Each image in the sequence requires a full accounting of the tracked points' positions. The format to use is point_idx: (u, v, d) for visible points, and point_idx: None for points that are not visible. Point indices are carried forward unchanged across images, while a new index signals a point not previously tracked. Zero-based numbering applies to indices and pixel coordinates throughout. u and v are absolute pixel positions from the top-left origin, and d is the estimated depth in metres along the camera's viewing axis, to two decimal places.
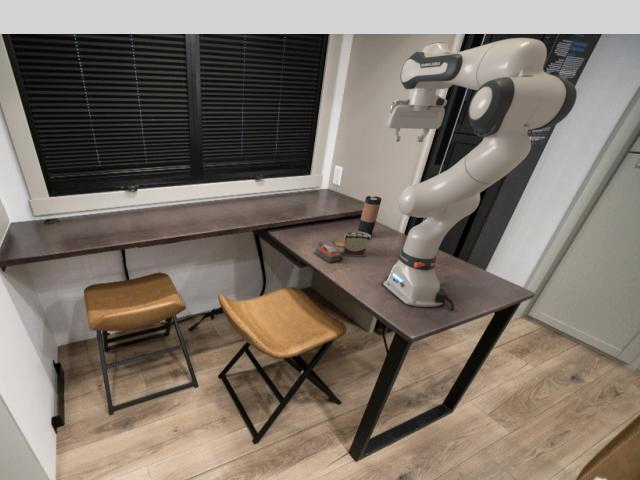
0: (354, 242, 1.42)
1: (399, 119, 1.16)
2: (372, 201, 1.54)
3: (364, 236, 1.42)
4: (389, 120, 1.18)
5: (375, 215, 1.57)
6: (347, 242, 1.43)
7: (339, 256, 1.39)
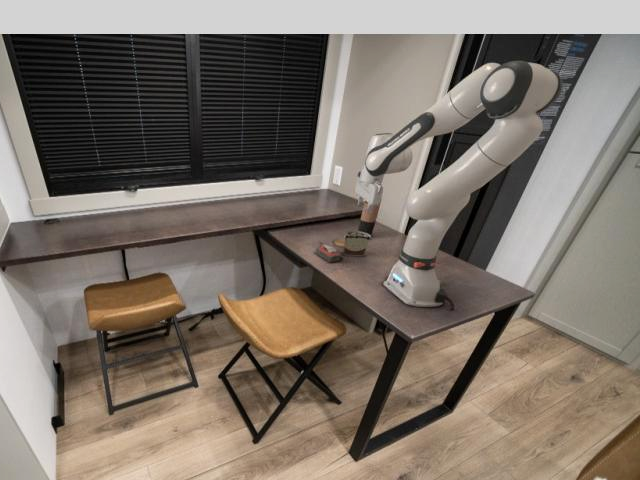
0: (354, 242, 1.42)
1: None
2: None
3: (364, 236, 1.42)
4: (378, 199, 1.24)
5: (375, 215, 1.57)
6: (347, 242, 1.43)
7: (339, 256, 1.39)
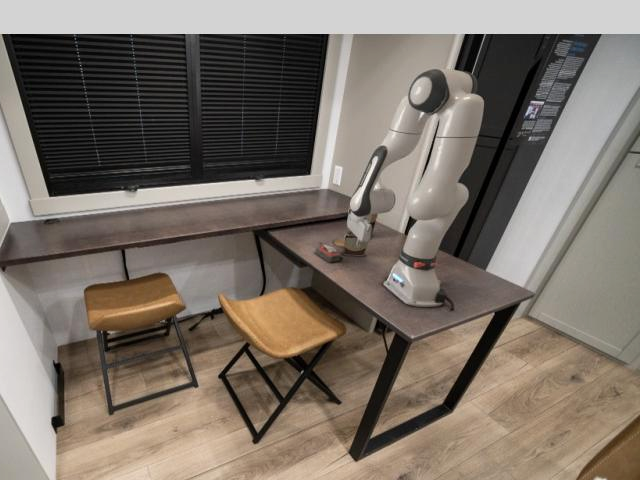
0: (354, 242, 1.42)
1: None
2: None
3: None
4: (367, 237, 1.33)
5: (375, 215, 1.57)
6: (347, 242, 1.43)
7: (339, 256, 1.39)
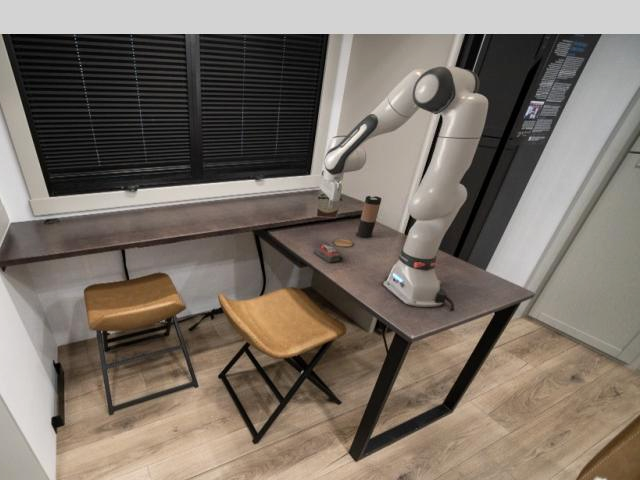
0: (326, 203, 1.46)
1: None
2: (372, 201, 1.54)
3: None
4: (338, 196, 1.36)
5: (375, 215, 1.57)
6: (319, 203, 1.46)
7: (339, 256, 1.39)
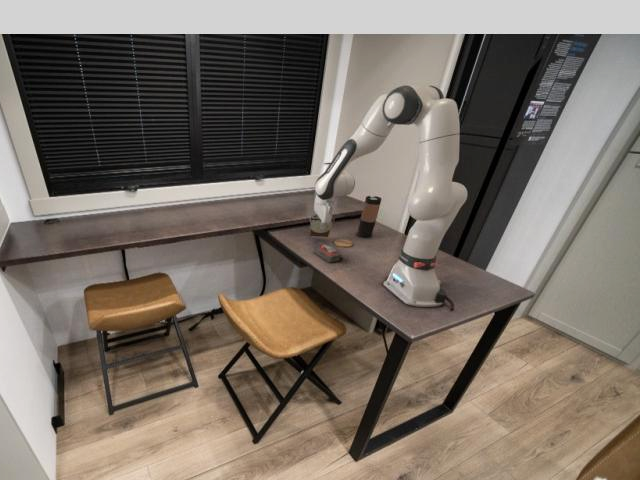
0: (319, 224, 1.53)
1: None
2: (372, 201, 1.54)
3: None
4: (329, 219, 1.44)
5: (375, 215, 1.57)
6: (312, 224, 1.53)
7: (339, 256, 1.39)
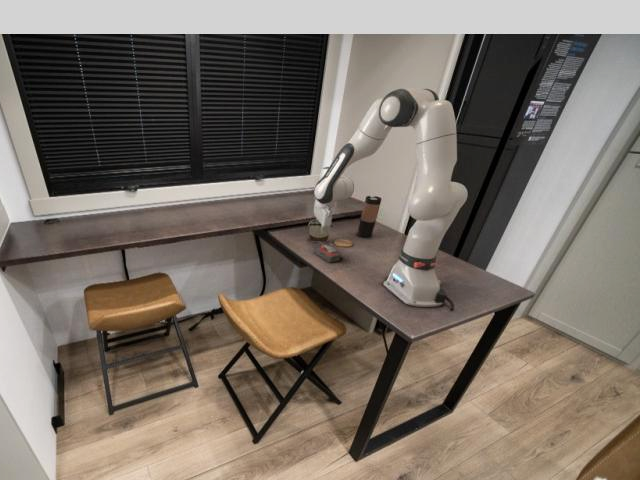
0: (318, 229, 1.55)
1: None
2: (372, 201, 1.54)
3: None
4: (329, 222, 1.45)
5: (375, 215, 1.57)
6: (311, 229, 1.55)
7: (339, 256, 1.39)
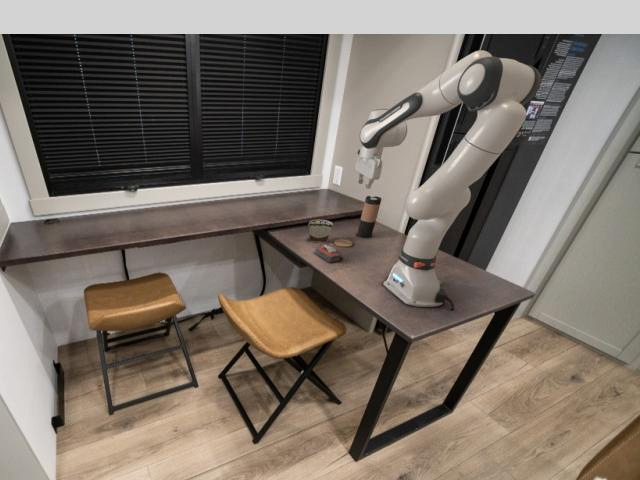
0: (318, 229, 1.55)
1: None
2: (372, 201, 1.54)
3: (327, 224, 1.54)
4: (378, 173, 1.29)
5: (375, 215, 1.57)
6: (311, 229, 1.55)
7: (339, 256, 1.39)
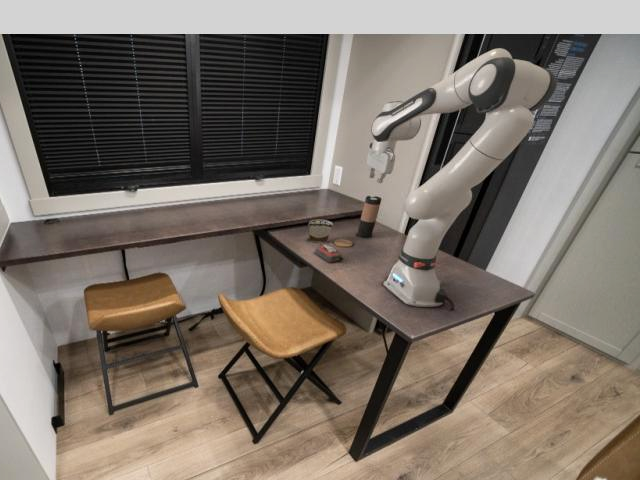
0: (318, 229, 1.55)
1: None
2: (372, 201, 1.54)
3: (327, 224, 1.54)
4: (390, 167, 1.27)
5: (375, 215, 1.57)
6: (311, 229, 1.55)
7: (339, 256, 1.39)
